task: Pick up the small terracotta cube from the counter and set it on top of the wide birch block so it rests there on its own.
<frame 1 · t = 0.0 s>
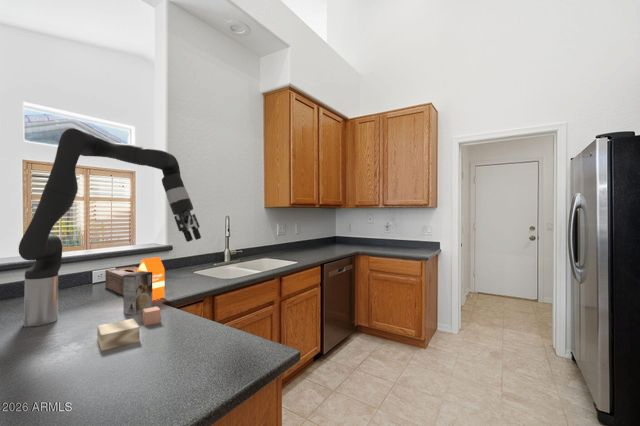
hand: (194, 239, 113), 31 cm above the table, tool tilted 20°, fingers open, 8 cm apart
tissue box cover: (129, 289, 160), on the table
birch block: (118, 341, 95), on the table
orange juice: (150, 299, 140), on the table
terracotta cube: (151, 322, 111), on the table
coffee box: (138, 311, 124), on the table
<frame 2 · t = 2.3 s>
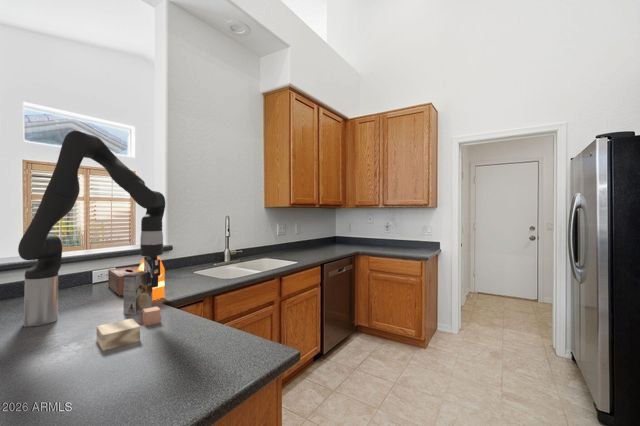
hand: (151, 285, 111), 14 cm above the table, tool pointing down, fingers open, 8 cm apart
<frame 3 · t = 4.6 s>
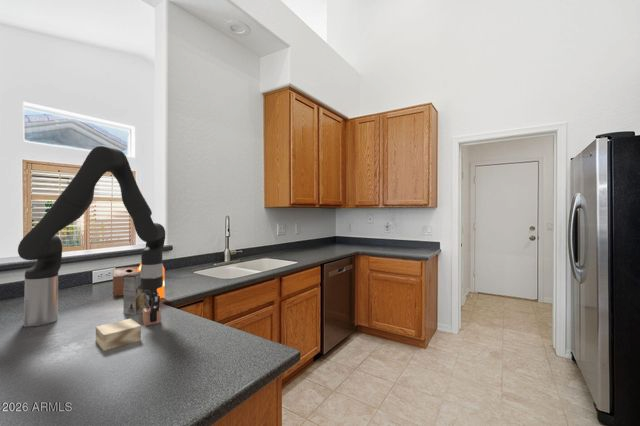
hand: (151, 319, 111), 1 cm above the table, tool pointing down, fingers closed on terracotta cube, 5 cm apart
terracotta cube: (151, 322, 111), on the table, touching gripper
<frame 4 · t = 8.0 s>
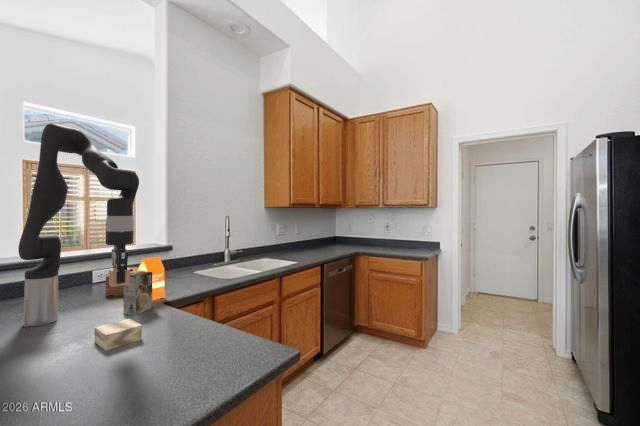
hand: (119, 281, 95), 19 cm above the table, tool pointing down, fingers closed on terracotta cube, 5 cm apart
terracotta cube: (119, 284, 95), point 18 cm above the table, touching gripper
when the fingers open (7 cm above the table, at t = 11.7 s): terracotta cube drops 2 cm, point 5 cm above the table.
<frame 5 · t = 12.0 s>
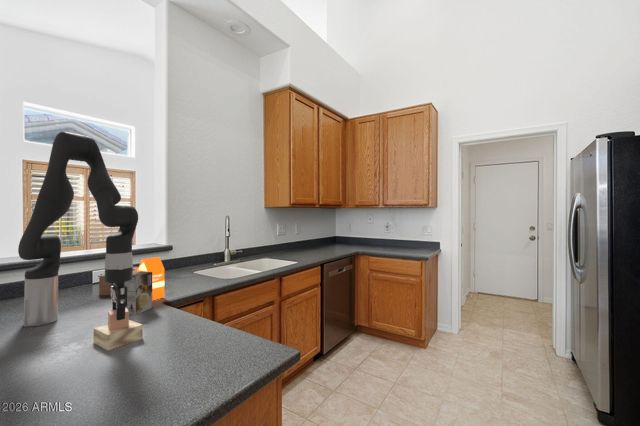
hand: (118, 315, 95), 8 cm above the table, tool pointing down, fingers open, 8 cm apart
terracotta cube: (118, 326, 95), point 5 cm above the table
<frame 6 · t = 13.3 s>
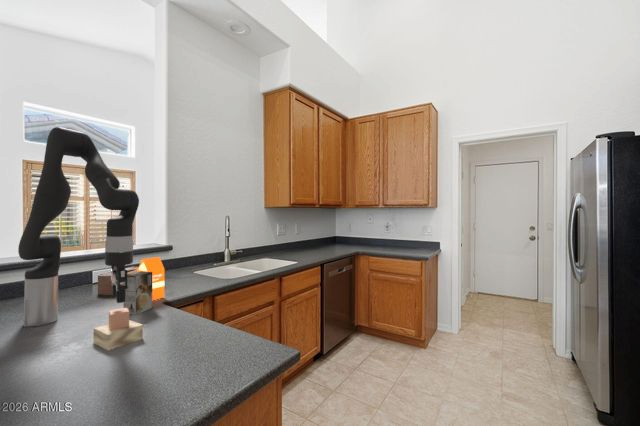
hand: (118, 299, 95), 14 cm above the table, tool pointing down, fingers open, 8 cm apart
birch block: (118, 341, 95), on the table, touching terracotta cube
terracotta cube: (118, 326, 95), point 5 cm above the table, touching birch block
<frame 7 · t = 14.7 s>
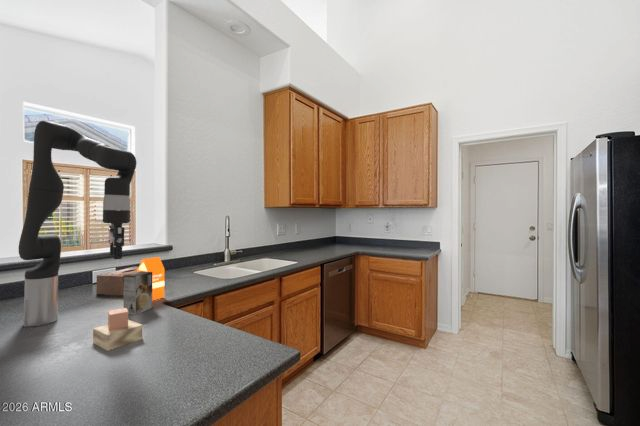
hand: (115, 257, 98), 27 cm above the table, tool pointing down, fingers open, 8 cm apart
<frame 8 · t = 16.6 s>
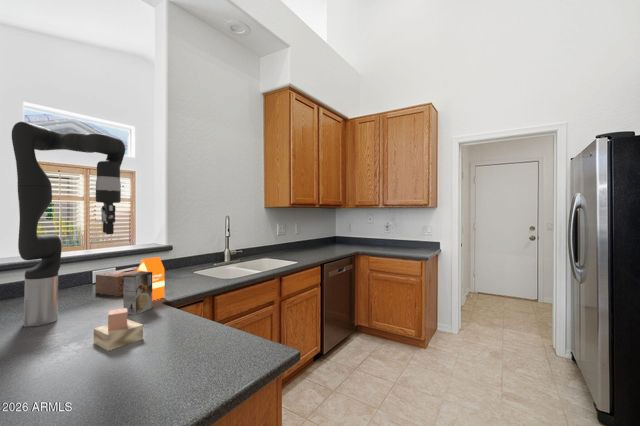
hand: (108, 233, 108), 34 cm above the table, tool pointing down, fingers open, 8 cm apart
birch block: (118, 341, 95), on the table
terracotta cube: (117, 326, 95), point 5 cm above the table
at the end: terracotta cube inside the target area on the birch block (0.2 cm from its centre), point 5.0 cm above the birch block's base; terracotta cube tilted 0°; the gripper is holding nothing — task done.
